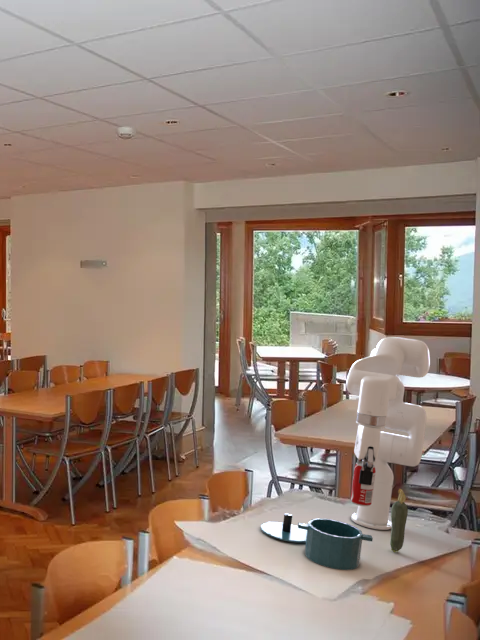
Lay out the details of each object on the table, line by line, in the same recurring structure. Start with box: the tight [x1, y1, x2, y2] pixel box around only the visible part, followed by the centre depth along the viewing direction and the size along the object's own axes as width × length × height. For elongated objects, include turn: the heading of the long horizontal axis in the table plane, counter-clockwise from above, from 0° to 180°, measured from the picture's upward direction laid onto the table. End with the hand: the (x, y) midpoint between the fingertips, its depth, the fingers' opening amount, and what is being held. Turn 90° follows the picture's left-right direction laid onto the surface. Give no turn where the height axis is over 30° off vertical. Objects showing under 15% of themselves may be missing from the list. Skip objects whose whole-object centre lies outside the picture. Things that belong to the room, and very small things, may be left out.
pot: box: [297, 518, 374, 571], centre depth 220 cm, size 15×20×10 cm
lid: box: [260, 512, 307, 543], centre depth 237 cm, size 16×16×7 cm
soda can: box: [350, 461, 376, 506], centre depth 215 cm, size 6×6×12 cm
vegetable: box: [389, 488, 409, 553], centre depth 227 cm, size 4×4×20 cm
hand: (363, 480), depth 215 cm, fingers closed on soda can, 5 cm apart
